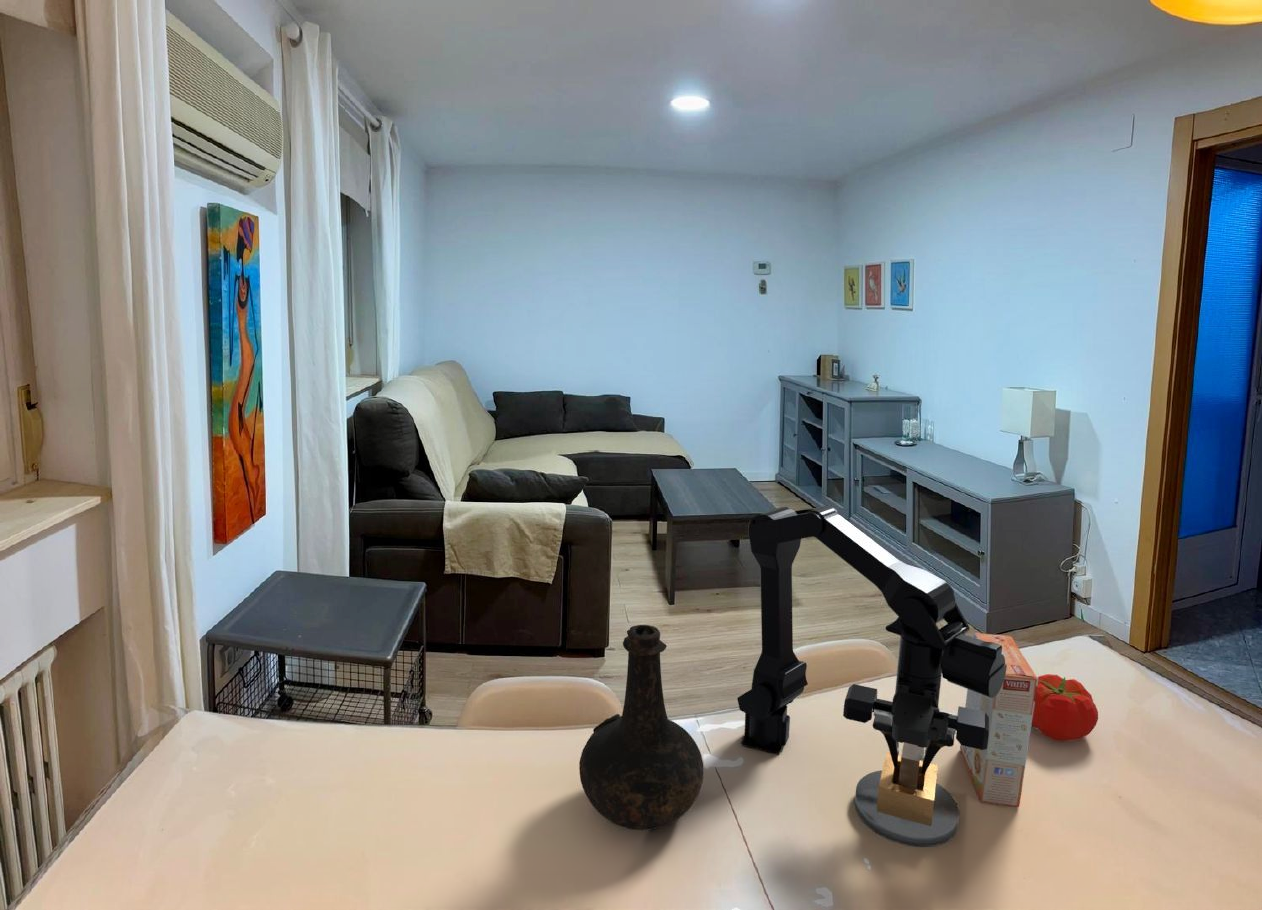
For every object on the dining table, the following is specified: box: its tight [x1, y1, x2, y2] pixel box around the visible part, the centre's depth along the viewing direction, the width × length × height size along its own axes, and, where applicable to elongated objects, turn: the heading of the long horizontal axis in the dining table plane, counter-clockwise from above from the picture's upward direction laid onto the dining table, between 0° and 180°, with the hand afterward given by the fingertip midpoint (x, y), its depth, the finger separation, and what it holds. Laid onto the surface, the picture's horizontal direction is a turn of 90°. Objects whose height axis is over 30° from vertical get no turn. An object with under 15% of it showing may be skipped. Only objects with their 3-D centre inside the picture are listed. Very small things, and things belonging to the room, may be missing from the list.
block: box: [898, 742, 921, 789], centre depth 110 cm, size 2×4×8 cm, turn 156°
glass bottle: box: [578, 624, 705, 831], centre depth 109 cm, size 18×18×28 cm
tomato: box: [1031, 674, 1099, 742], centre depth 132 cm, size 13×12×8 cm
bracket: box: [854, 747, 960, 848], centre depth 113 cm, size 14×17×6 cm
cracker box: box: [959, 632, 1038, 808], centre depth 118 cm, size 14×6×21 cm, turn 168°
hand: (909, 768), depth 110 cm, fingers open, 3 cm apart
